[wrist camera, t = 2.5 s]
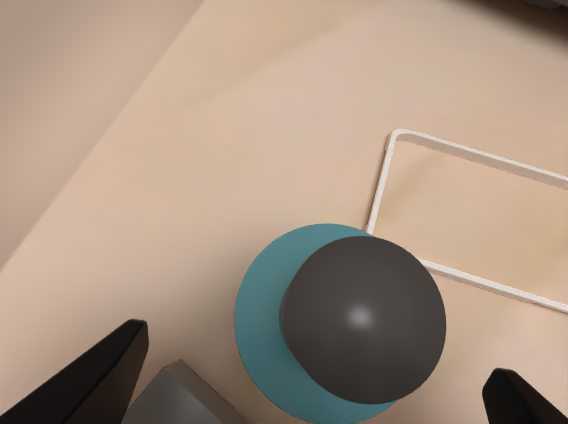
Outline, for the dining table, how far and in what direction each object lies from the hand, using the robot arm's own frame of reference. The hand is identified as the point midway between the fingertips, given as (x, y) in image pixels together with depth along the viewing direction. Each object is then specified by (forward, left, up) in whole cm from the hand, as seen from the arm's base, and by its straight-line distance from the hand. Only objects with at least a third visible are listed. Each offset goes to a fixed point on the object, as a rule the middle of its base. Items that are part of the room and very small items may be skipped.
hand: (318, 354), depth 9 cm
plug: (+1, 0, -9) cm, 9 cm away
